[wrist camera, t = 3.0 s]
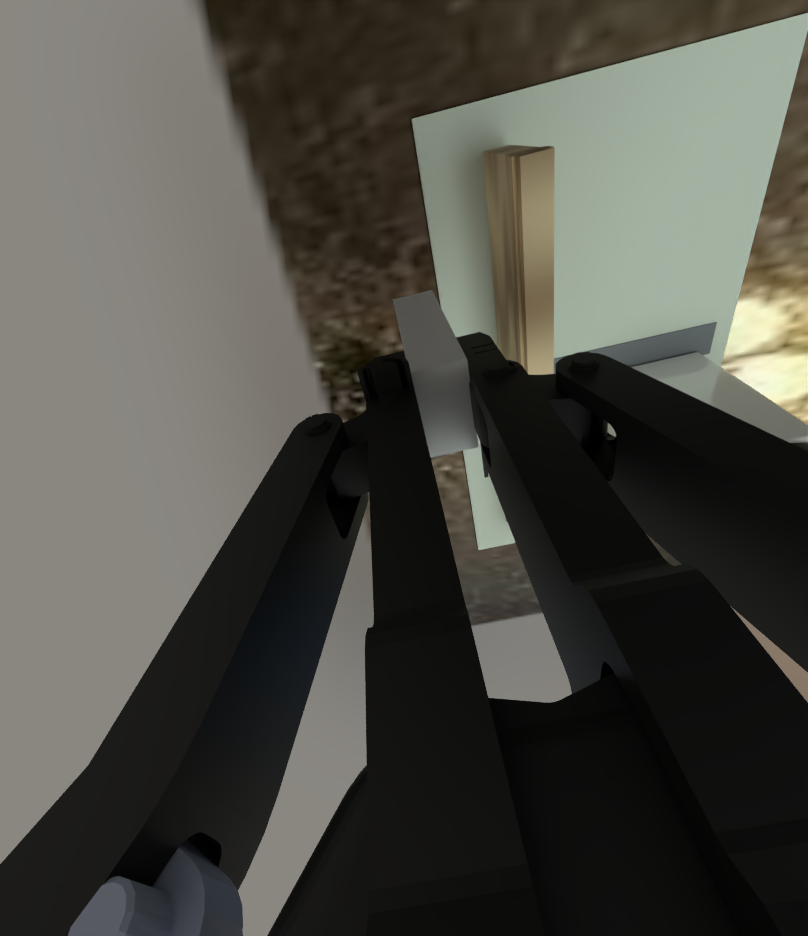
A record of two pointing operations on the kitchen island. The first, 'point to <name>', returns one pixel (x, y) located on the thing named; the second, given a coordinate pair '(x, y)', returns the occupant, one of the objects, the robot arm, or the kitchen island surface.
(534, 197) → the fence panel
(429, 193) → the board
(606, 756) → the robot arm
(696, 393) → the jar
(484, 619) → the kitchen island surface
